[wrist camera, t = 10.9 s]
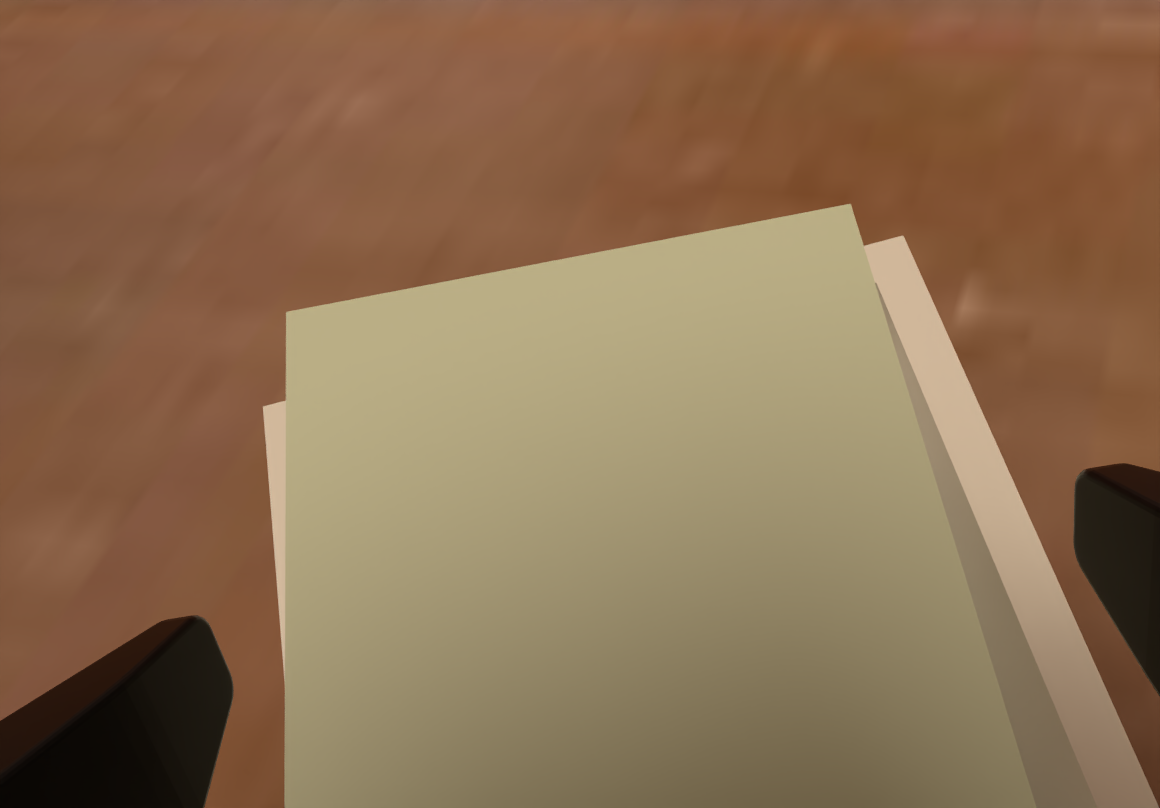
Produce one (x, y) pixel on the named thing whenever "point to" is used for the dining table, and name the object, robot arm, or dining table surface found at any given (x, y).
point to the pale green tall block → (628, 543)
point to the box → (987, 553)
